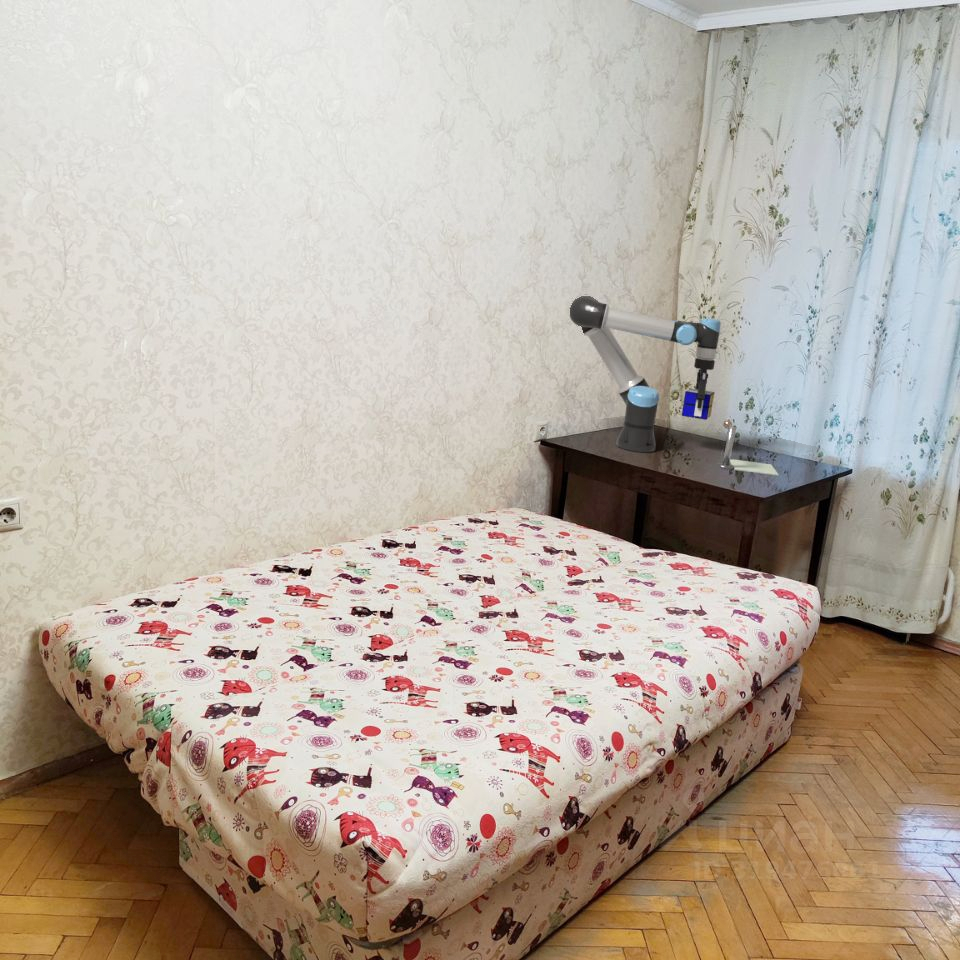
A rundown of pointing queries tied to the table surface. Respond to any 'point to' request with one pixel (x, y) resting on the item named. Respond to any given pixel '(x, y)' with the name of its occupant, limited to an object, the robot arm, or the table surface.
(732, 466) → the hook post
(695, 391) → the puzzle cube
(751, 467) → the sage mat
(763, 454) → the table surface
